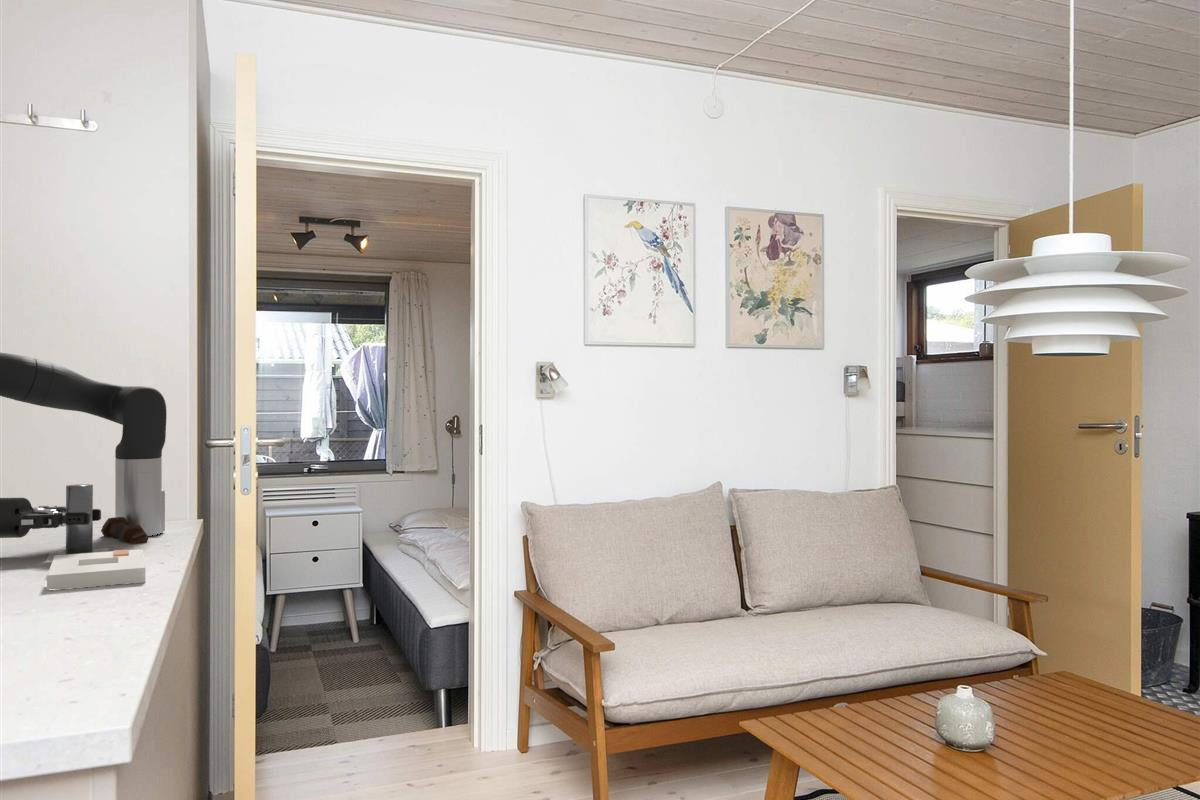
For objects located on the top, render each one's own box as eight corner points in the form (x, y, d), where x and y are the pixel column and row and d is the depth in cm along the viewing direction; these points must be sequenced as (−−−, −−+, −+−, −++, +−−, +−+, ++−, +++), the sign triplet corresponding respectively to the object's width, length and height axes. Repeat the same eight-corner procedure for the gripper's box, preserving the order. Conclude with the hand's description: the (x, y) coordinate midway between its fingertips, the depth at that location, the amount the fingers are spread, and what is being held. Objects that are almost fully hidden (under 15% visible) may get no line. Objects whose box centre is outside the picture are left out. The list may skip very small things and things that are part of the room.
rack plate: (54, 569, 159) (54, 553, 159) (142, 562, 166) (142, 547, 166) (46, 591, 141) (46, 573, 141) (145, 582, 148) (145, 565, 148)
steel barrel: (79, 550, 171) (80, 483, 171) (98, 552, 170) (98, 484, 170) (60, 554, 167) (60, 486, 167) (78, 556, 166) (78, 486, 166)
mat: (49, 557, 170) (49, 552, 170) (109, 553, 175) (109, 547, 175) (46, 566, 162) (46, 560, 162) (108, 561, 166) (108, 556, 166)
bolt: (136, 558, 181) (110, 546, 191) (159, 543, 184) (132, 532, 194) (121, 535, 178) (96, 524, 189) (144, 520, 182) (118, 511, 192)
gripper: (-24, 502, 159) (79, 501, 162) (16, 493, 173) (110, 492, 176) (-24, 544, 159) (78, 542, 162) (16, 531, 173) (109, 530, 176)
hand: (94, 516), depth 169 cm, fingers closed on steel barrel, 4 cm apart
